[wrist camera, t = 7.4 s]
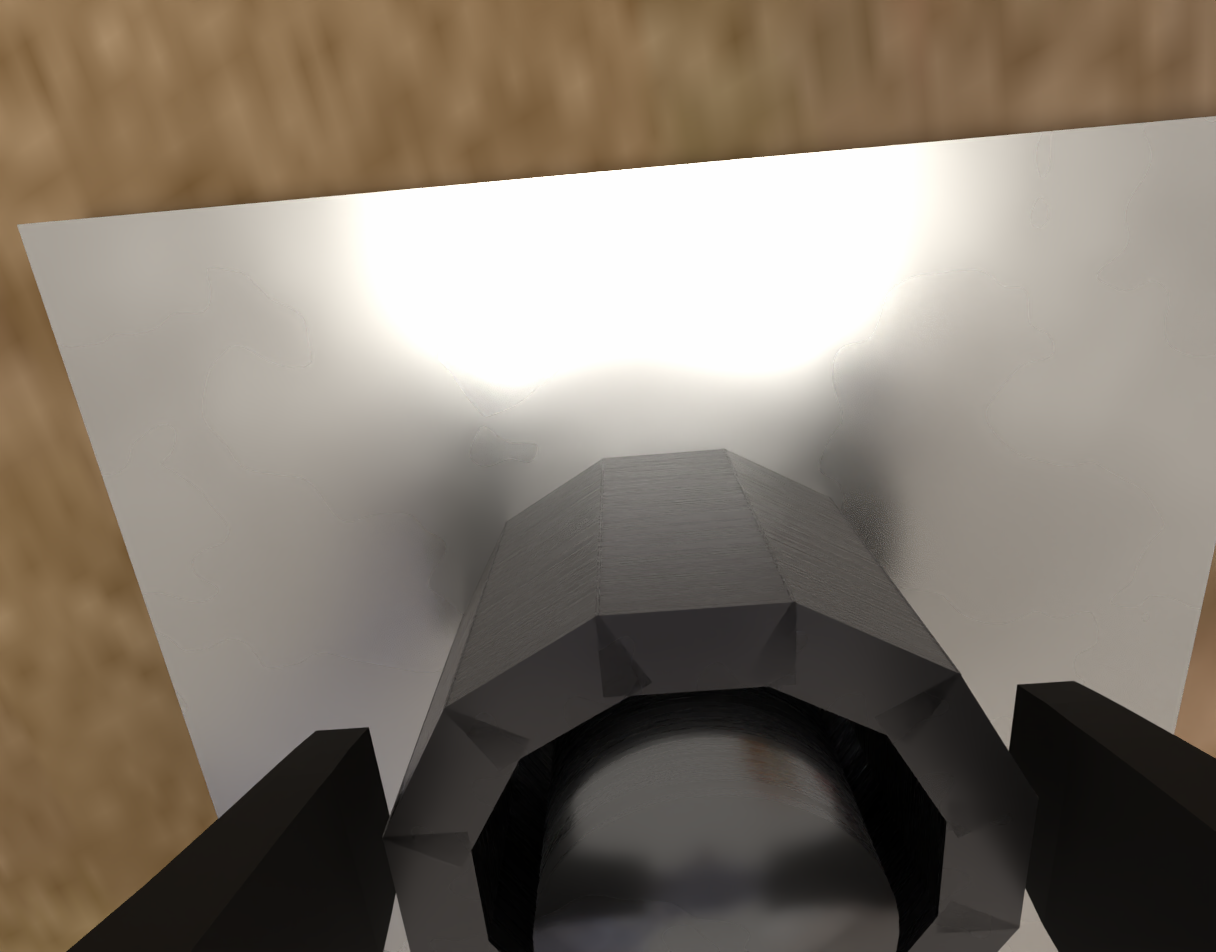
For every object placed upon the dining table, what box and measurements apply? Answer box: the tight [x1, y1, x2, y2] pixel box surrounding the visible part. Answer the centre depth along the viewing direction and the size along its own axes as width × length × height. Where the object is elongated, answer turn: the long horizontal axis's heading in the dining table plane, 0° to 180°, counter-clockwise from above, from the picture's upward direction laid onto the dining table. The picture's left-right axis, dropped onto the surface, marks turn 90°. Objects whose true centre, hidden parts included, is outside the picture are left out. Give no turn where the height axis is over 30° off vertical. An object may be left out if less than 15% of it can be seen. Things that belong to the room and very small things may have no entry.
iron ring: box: [382, 448, 1039, 952], centre depth 9 cm, size 6×6×4 cm
